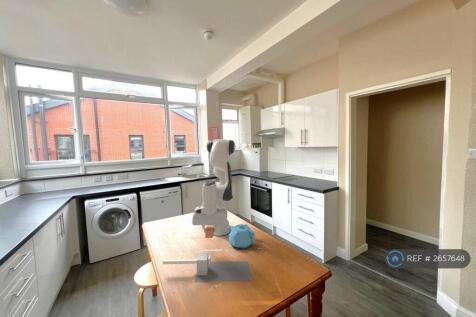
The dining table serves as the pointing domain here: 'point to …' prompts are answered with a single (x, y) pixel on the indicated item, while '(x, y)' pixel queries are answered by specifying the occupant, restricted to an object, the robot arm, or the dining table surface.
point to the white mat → (212, 250)
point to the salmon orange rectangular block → (209, 231)
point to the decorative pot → (241, 236)
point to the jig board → (221, 270)
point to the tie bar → (185, 261)
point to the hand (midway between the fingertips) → (209, 231)
